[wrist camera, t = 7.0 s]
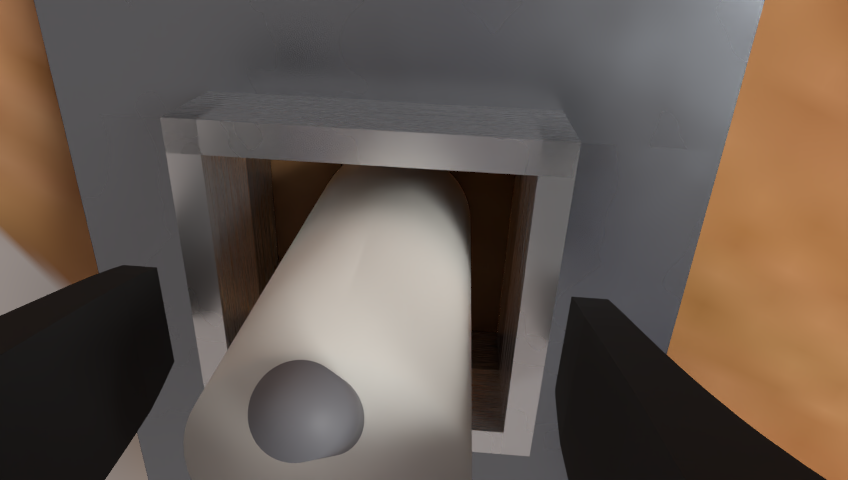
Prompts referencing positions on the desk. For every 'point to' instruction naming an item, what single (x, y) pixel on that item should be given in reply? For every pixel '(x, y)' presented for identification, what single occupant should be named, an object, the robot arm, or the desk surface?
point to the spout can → (352, 344)
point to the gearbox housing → (402, 161)
